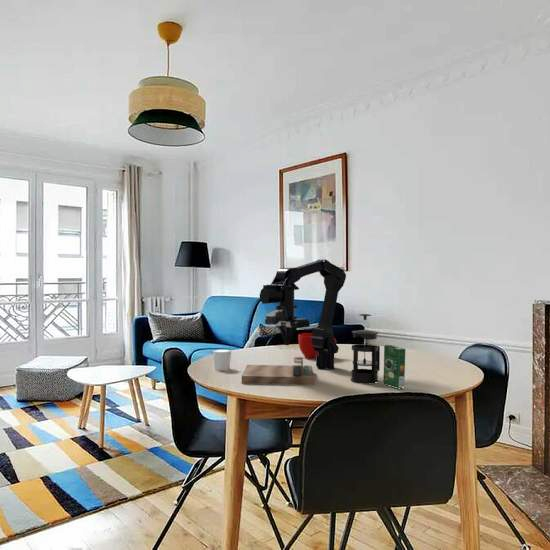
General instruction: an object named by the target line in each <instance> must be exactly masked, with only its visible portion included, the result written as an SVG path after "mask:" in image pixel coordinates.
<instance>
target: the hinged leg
mask: <svg viewBox="0 0 550 550" xmlns="http://www.w3.org/2000/svg"><path fill="white" fill-rule="evenodd" d="M303 360H304V358H303V357H301V356H296V357H293V365H292V366H293V376H301V369H302V367H303V366H304V364H303V362H304V361H303Z"/></svg>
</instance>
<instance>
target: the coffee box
mask: <svg viewBox="0 0 550 550" xmlns="http://www.w3.org/2000/svg"><path fill="white" fill-rule="evenodd" d="M383 346H384V347H383V383H384V384H383V385H385V384H388V385H391V386H394V387H397V388H402V387H404V388H405V372H406V348H403V347H399V346H395V345H392V344H385V345H383ZM388 385H387V386H388ZM391 386H390V387H391ZM394 387H393V388H394Z"/></svg>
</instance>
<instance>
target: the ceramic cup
mask: <svg viewBox="0 0 550 550" xmlns="http://www.w3.org/2000/svg"><path fill="white" fill-rule="evenodd" d="M311 336H312V332H302V333H299V334H298V337H297V339H298V346H299V350H300V352H301V354H302V355H303V356H304V357H305V358H306V359H315V360H316V355H318V351H314V347H313V344H312V342H311V340H312V338H311ZM334 342H335V343H336V344H337V339H336V338H335V337H334Z"/></svg>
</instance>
